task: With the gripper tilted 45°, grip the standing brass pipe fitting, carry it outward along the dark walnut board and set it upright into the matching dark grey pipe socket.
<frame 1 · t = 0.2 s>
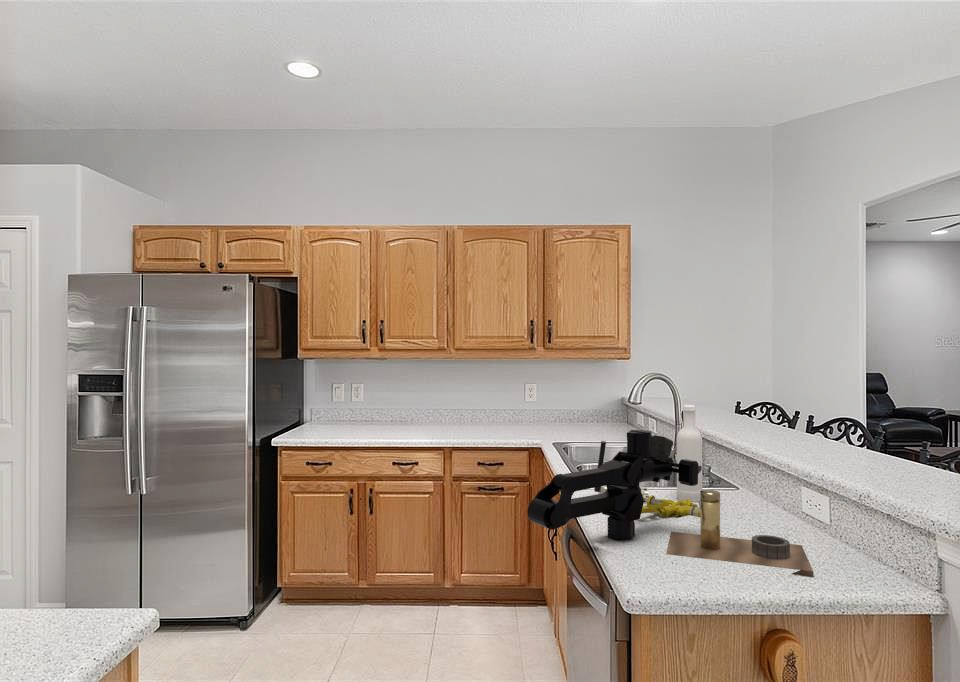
hand: (686, 465, 166), 17 cm above the countertop, tool horizontal, fingers open, 9 cm apart
butterfly valve: (622, 501, 193), on the countertop
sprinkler: (677, 518, 174), on the countertop
bottle: (689, 499, 194), on the countertop
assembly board: (735, 554, 143), on the countertop
brass fitting: (710, 546, 145), point 1 cm above the countertop, touching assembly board
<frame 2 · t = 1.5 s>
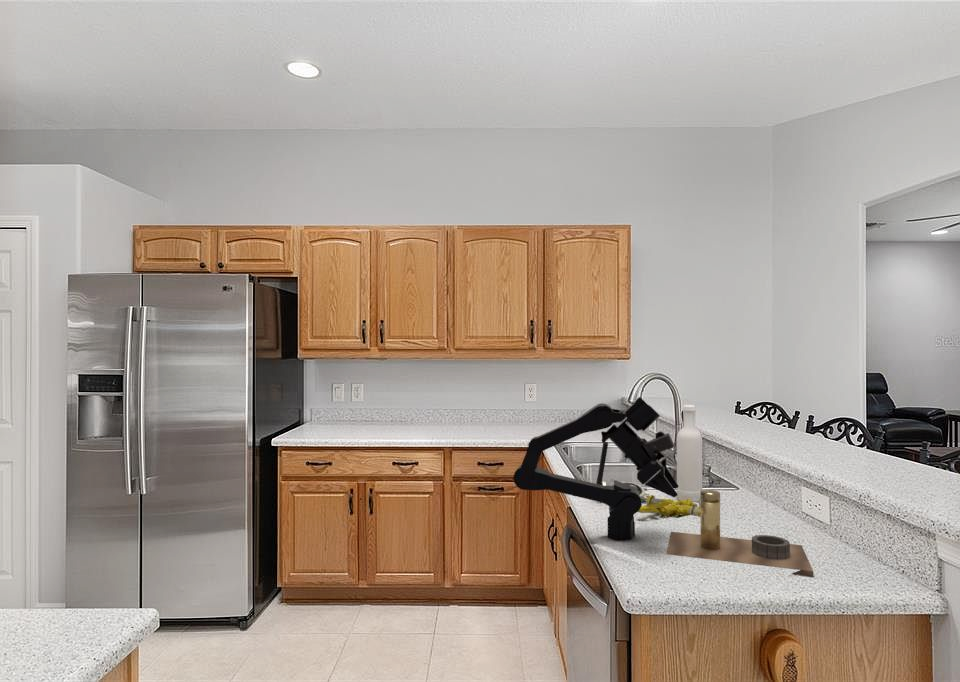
hand: (676, 491, 148), 14 cm above the countertop, tool tilted 45°, fingers open, 9 cm apart
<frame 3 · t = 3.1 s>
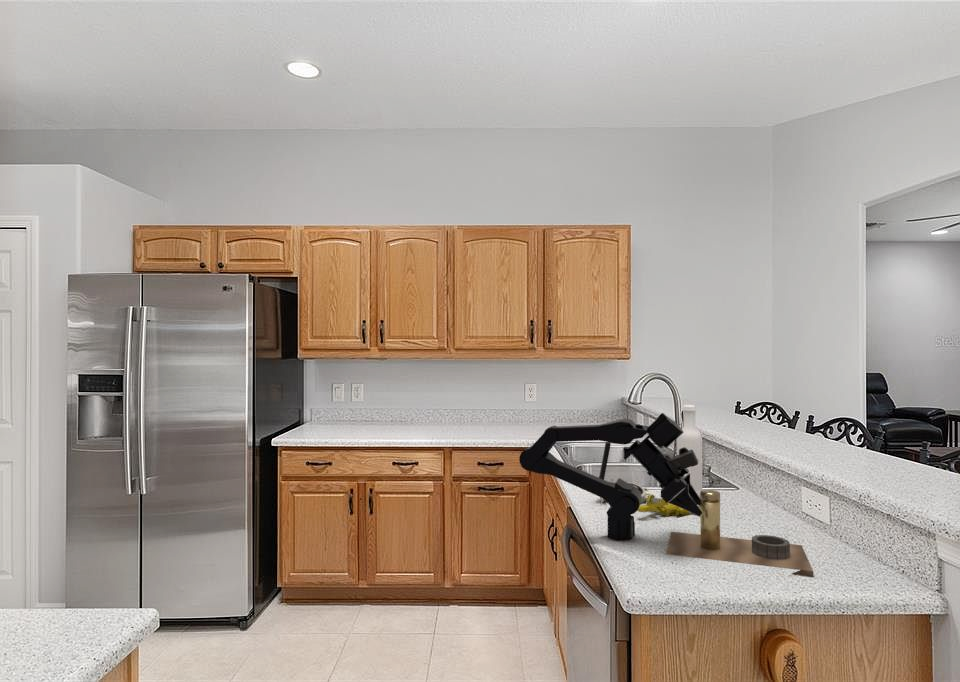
hand: (701, 509, 146), 10 cm above the countertop, tool tilted 45°, fingers open, 9 cm apart
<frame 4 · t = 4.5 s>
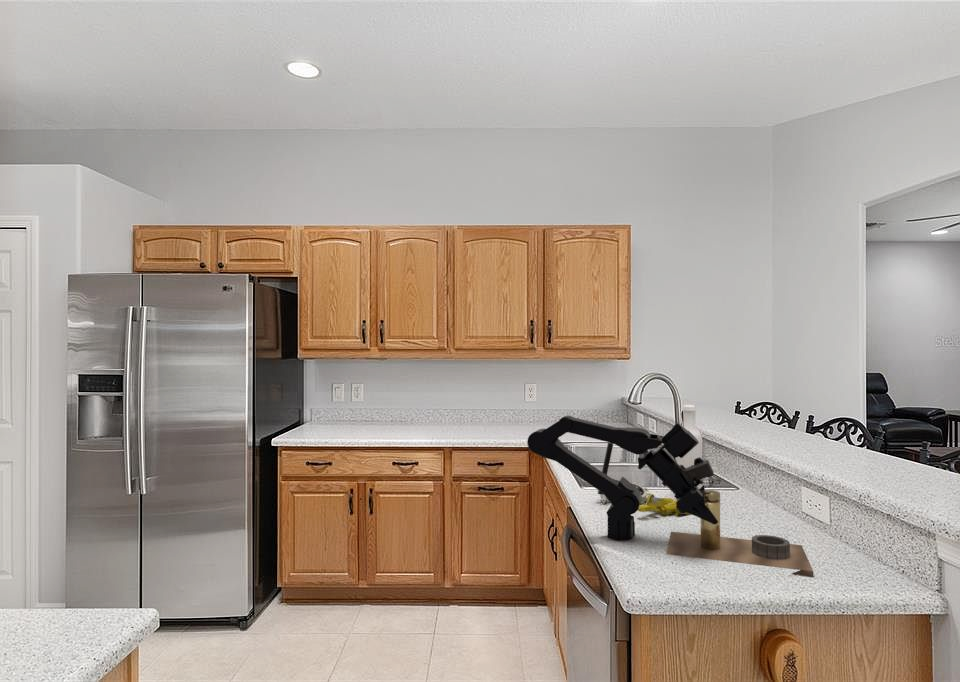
hand: (716, 520, 144), 8 cm above the countertop, tool tilted 45°, fingers closed on brass fitting, 4 cm apart
brass fitting: (710, 546, 145), point 1 cm above the countertop, touching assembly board, gripper
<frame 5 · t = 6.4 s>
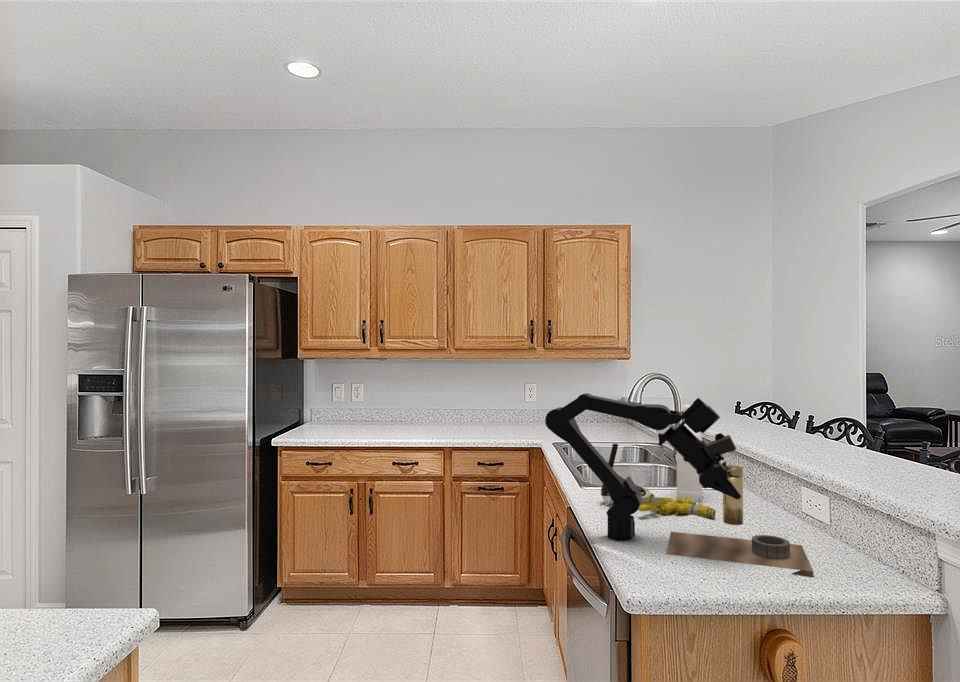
hand: (739, 495, 143), 14 cm above the countertop, tool tilted 45°, fingers closed on brass fitting, 4 cm apart
butterfly valve: (627, 504, 190), on the countertop
brass fitting: (733, 522, 143), point 8 cm above the countertop, touching gripper
when the fingers open (9 cm above the countertop, at t = 8.5 s): brass fitting drops 1 cm, resting on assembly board.
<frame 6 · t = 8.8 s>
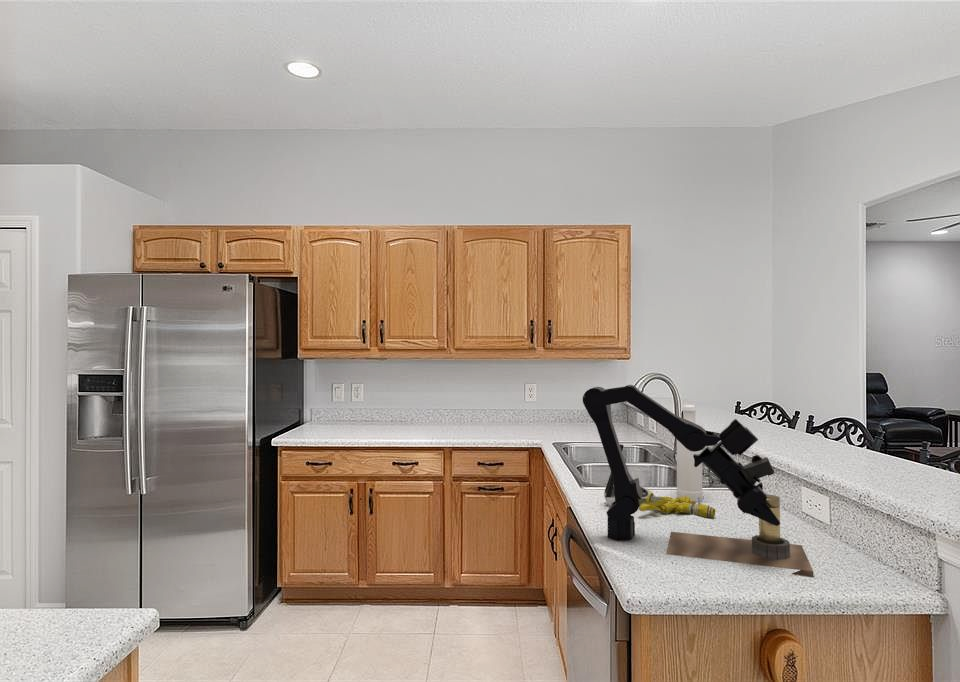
hand: (777, 519, 140), 9 cm above the countertop, tool tilted 45°, fingers open, 8 cm apart
butterfly valve: (630, 504, 189), on the countertop
brass fitting: (769, 553, 140), point 1 cm above the countertop, touching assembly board
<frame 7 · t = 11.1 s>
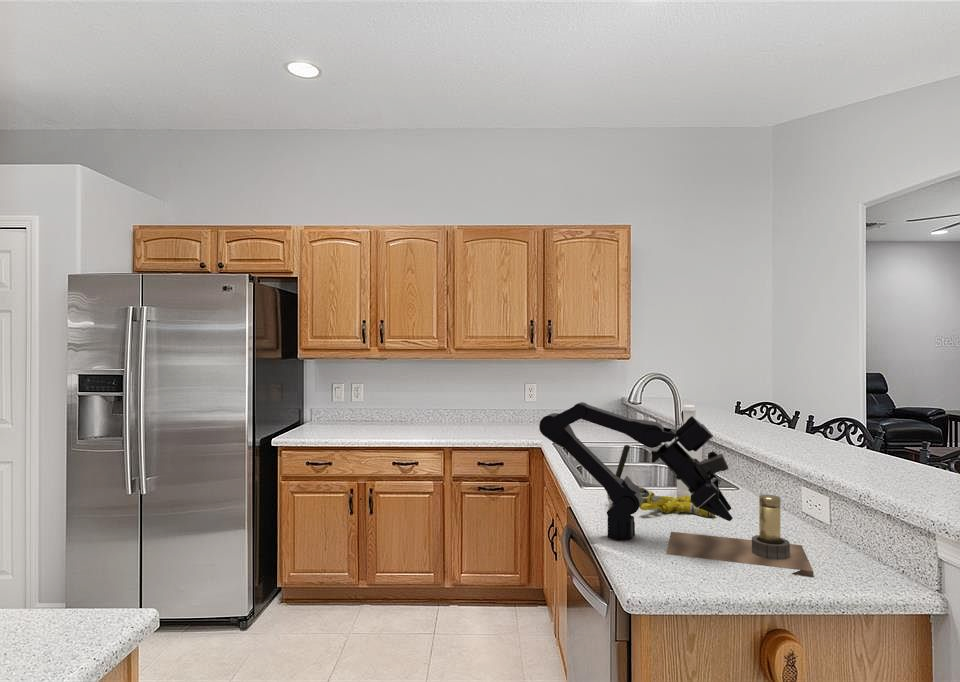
hand: (730, 514, 143), 9 cm above the countertop, tool tilted 45°, fingers open, 9 cm apart
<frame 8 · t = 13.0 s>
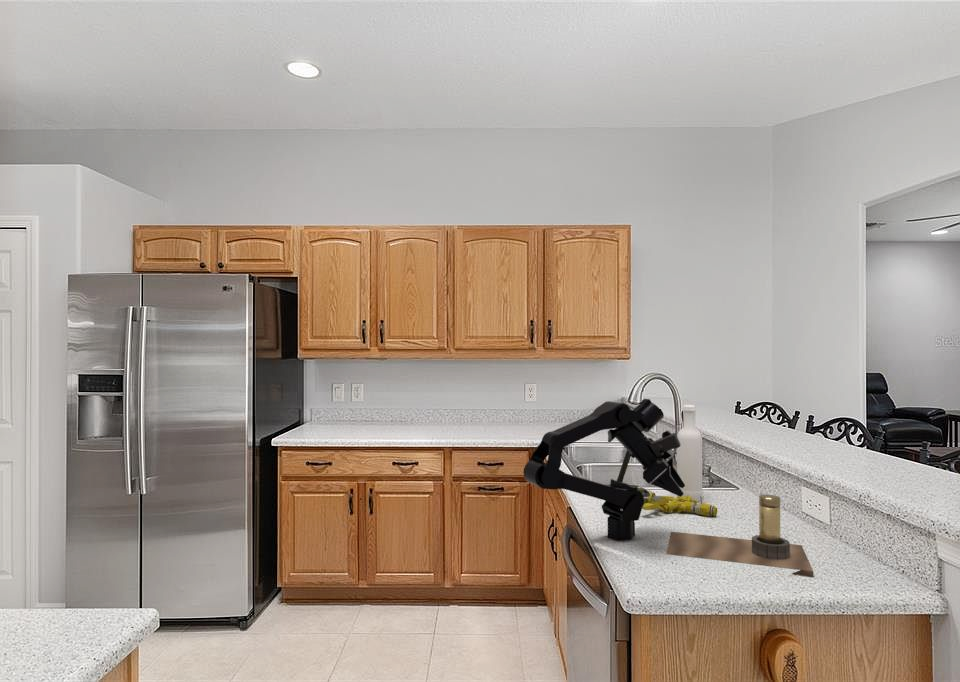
hand: (683, 491, 149), 14 cm above the countertop, tool tilted 45°, fingers open, 9 cm apart
at the end: brass fitting 0.2 cm from the target spot, point 1.2 cm above the countertop; brass fitting tilted 0°; the gripper is holding nothing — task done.
